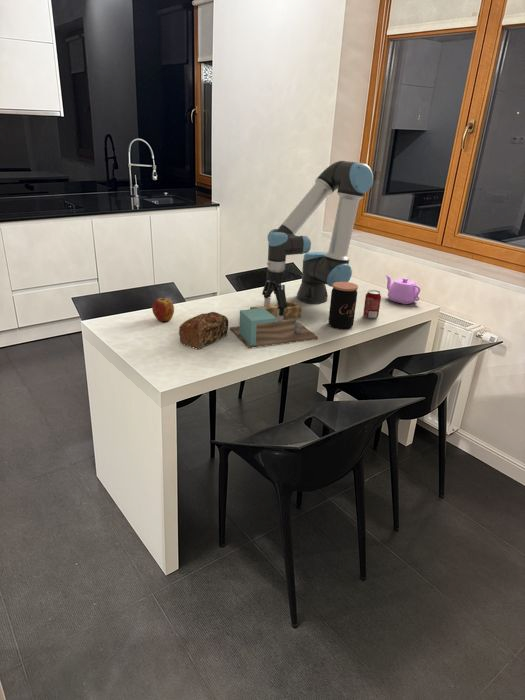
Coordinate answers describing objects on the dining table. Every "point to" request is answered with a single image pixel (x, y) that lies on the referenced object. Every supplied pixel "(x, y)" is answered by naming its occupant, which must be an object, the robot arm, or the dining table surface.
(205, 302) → the dining table surface
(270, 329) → the pintle board
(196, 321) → the bread
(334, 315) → the coffee jar
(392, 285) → the teapot
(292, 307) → the wooden square socket bar
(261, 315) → the block
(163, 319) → the apple
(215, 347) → the dining table surface
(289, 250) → the robot arm
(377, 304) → the soda can
